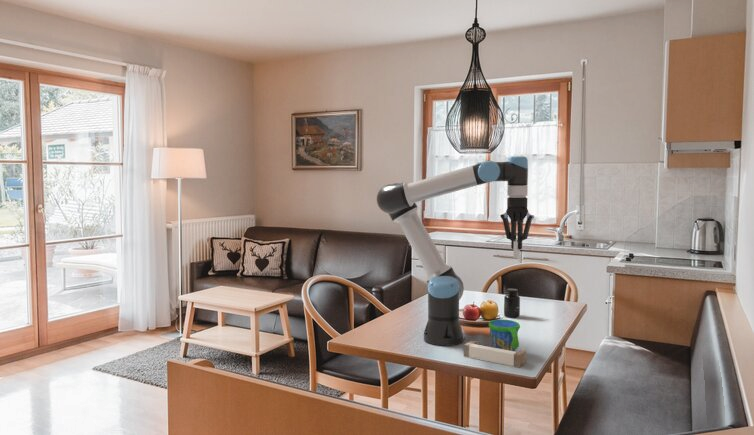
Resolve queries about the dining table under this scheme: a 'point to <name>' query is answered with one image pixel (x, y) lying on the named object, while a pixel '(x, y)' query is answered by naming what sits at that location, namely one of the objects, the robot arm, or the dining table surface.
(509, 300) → the supplement bottle
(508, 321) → the snack cup
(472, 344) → the rail
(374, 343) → the dining table surface
